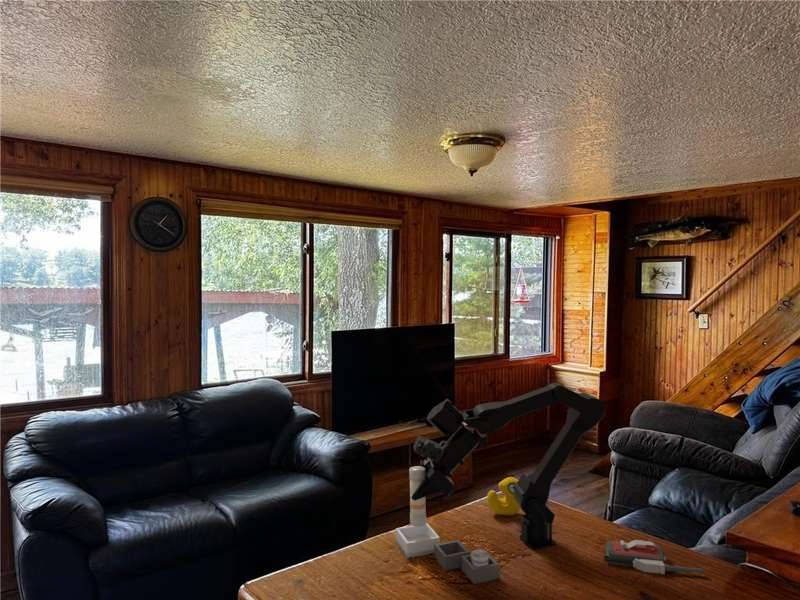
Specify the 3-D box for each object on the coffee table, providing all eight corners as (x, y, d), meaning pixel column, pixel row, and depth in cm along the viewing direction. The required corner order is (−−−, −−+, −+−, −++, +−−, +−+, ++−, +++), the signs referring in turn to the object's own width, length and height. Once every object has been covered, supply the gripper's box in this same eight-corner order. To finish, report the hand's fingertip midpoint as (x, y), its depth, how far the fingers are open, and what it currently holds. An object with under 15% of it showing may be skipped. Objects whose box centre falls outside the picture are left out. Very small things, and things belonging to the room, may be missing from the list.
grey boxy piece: (486, 564, 124) (485, 551, 124) (499, 578, 118) (499, 564, 118) (461, 569, 122) (461, 556, 122) (473, 583, 116) (473, 570, 116)
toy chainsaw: (604, 570, 121) (705, 580, 116) (604, 550, 121) (705, 560, 116) (600, 550, 129) (694, 559, 125) (600, 532, 129) (694, 540, 124)
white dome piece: (483, 567, 122) (483, 548, 122) (492, 576, 119) (491, 556, 119) (468, 571, 121) (468, 551, 121) (476, 580, 118) (475, 559, 117)
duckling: (527, 509, 152) (527, 473, 151) (531, 518, 146) (531, 481, 146) (486, 510, 152) (485, 474, 152) (488, 518, 147) (488, 481, 146)
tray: (427, 536, 138) (426, 522, 138) (440, 551, 130) (439, 537, 130) (396, 542, 135) (395, 528, 135) (407, 558, 127) (406, 543, 127)
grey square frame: (458, 552, 129) (458, 539, 129) (470, 565, 124) (470, 552, 124) (434, 557, 127) (434, 544, 127) (445, 570, 122) (444, 557, 122)
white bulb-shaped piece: (425, 519, 134) (424, 466, 133) (426, 526, 130) (425, 471, 129) (409, 519, 133) (408, 466, 133) (410, 526, 130) (409, 472, 129)
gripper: (428, 415, 140) (385, 460, 140) (438, 436, 121) (389, 488, 121) (459, 444, 141) (417, 489, 141) (474, 470, 122) (425, 521, 122)
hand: (411, 495), depth 131 cm, fingers closed on white bulb-shaped piece, 4 cm apart
